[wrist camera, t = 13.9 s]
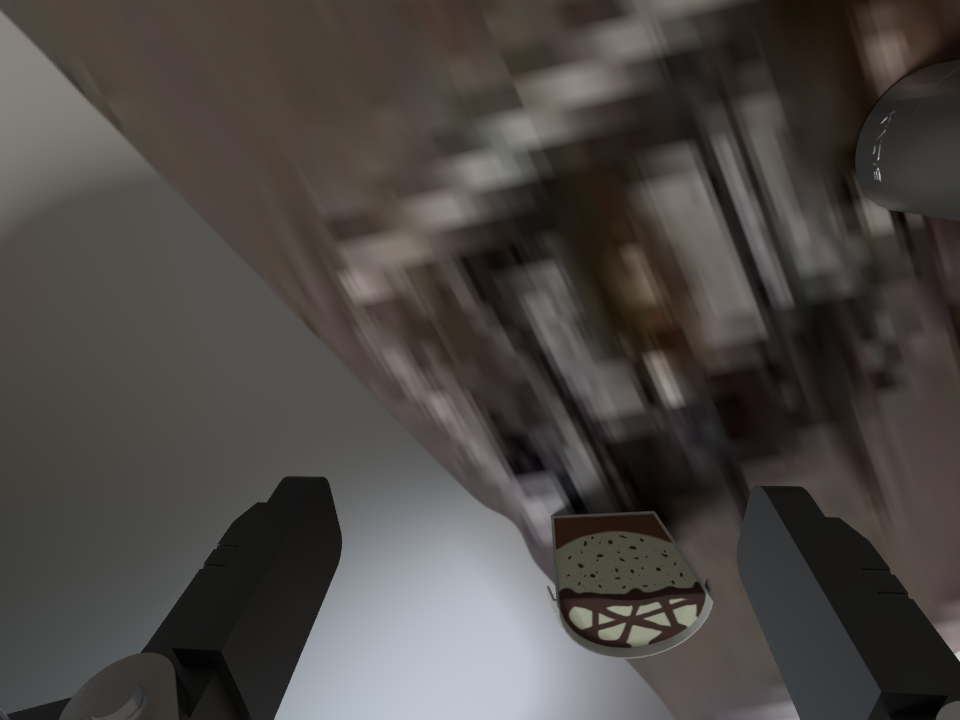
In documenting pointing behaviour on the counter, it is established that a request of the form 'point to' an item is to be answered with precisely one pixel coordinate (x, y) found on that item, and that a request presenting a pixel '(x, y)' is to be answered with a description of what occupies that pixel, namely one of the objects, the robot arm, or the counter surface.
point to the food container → (624, 584)
